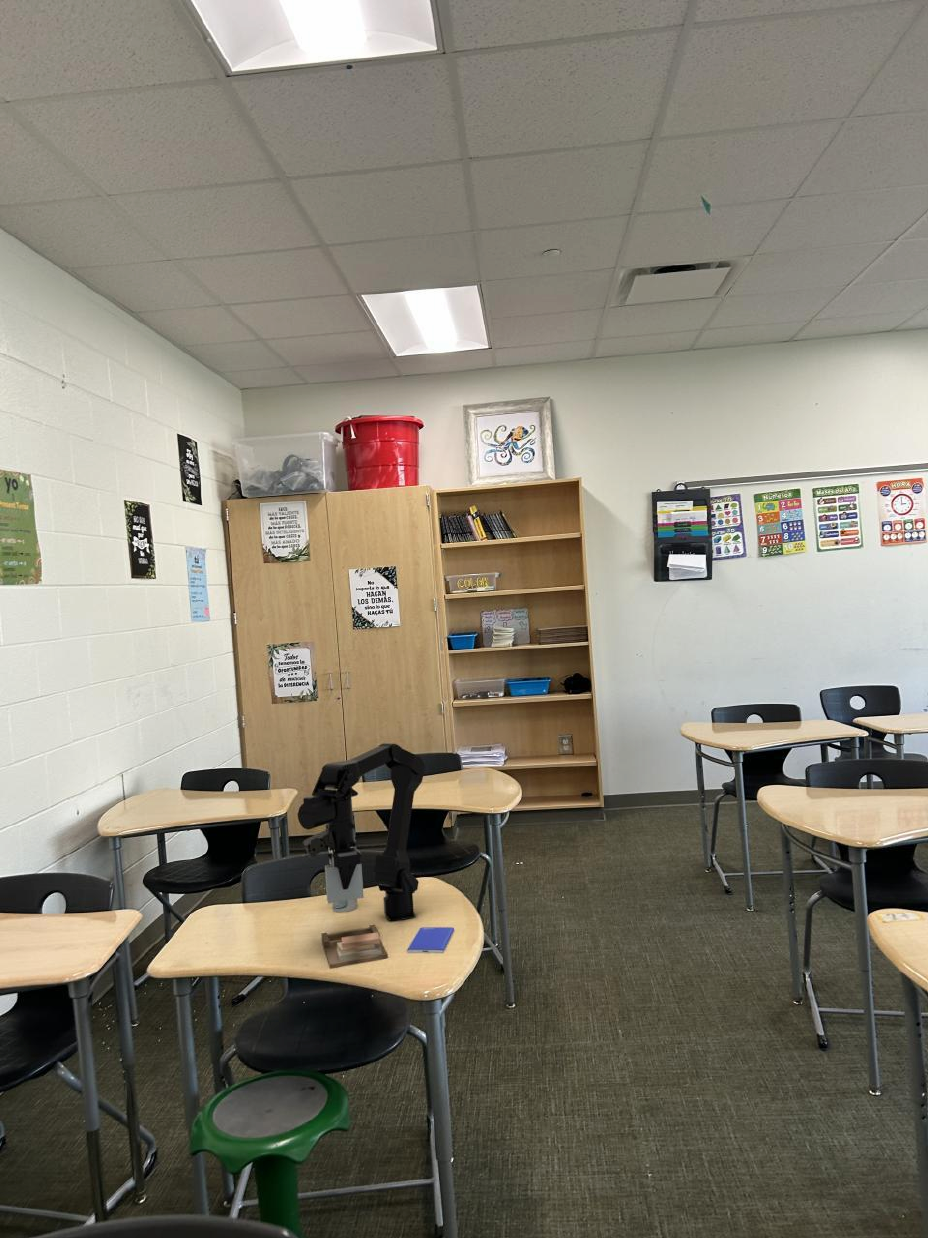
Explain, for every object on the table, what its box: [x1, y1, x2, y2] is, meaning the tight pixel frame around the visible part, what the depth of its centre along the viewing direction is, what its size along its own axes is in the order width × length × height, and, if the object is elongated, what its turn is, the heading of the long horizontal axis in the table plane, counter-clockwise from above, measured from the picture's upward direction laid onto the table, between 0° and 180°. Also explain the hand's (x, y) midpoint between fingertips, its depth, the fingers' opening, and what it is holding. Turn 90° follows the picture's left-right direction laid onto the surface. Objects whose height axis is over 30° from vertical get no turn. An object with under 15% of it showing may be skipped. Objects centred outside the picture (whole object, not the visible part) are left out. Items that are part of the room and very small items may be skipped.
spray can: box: [328, 847, 358, 914], centre depth 208 cm, size 6×6×20 cm
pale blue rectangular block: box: [324, 863, 364, 904], centre depth 185 cm, size 8×2×8 cm, turn 107°
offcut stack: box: [337, 932, 382, 961], centre depth 176 cm, size 9×5×3 cm, turn 106°
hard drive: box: [406, 926, 455, 954], centre depth 181 cm, size 2×8×12 cm
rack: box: [321, 924, 389, 969], centre depth 180 cm, size 12×15×2 cm
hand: (344, 887), depth 185 cm, fingers closed on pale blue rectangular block, 2 cm apart
